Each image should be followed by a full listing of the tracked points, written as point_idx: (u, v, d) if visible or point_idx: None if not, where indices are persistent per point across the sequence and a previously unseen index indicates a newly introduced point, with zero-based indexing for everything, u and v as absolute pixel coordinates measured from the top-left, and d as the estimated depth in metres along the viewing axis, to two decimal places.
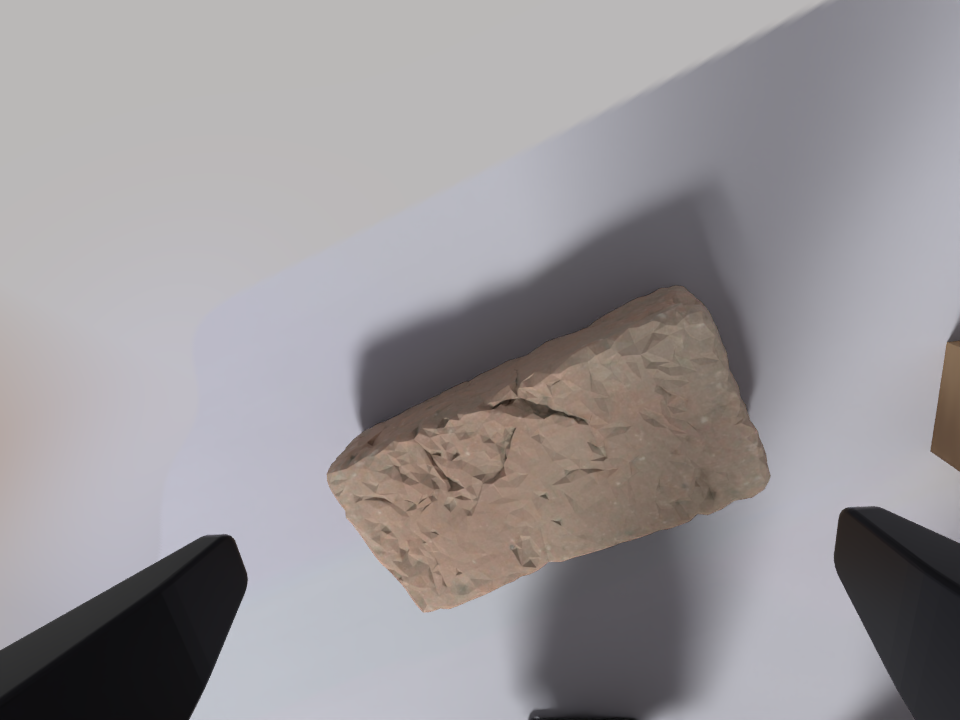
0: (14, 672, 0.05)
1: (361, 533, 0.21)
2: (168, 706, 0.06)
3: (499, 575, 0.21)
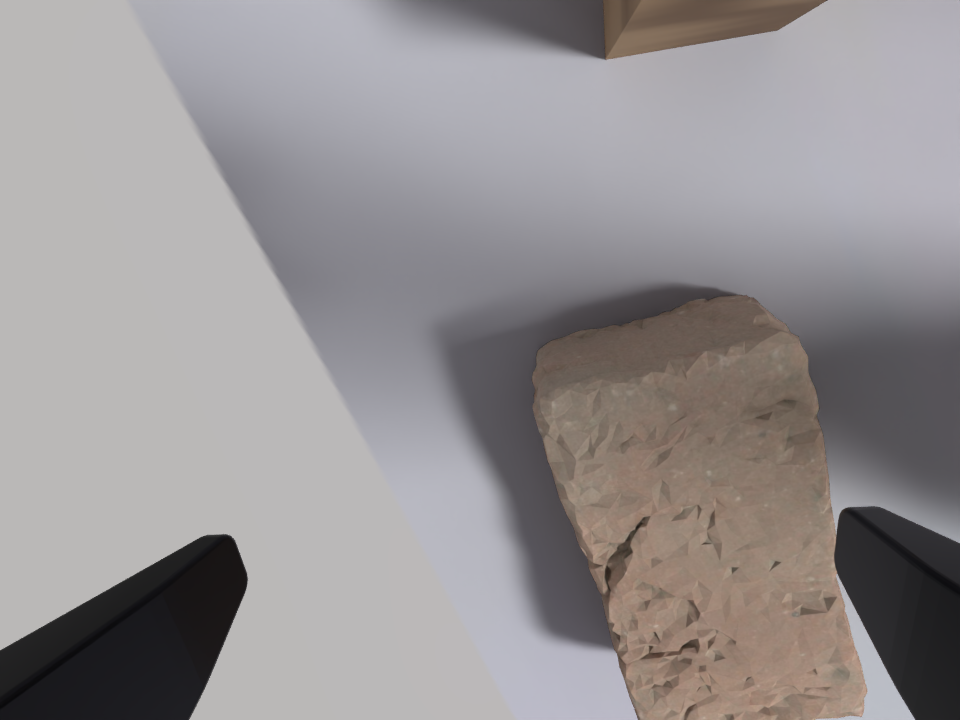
0: (14, 672, 0.05)
1: None
2: (168, 706, 0.06)
3: (833, 636, 0.17)
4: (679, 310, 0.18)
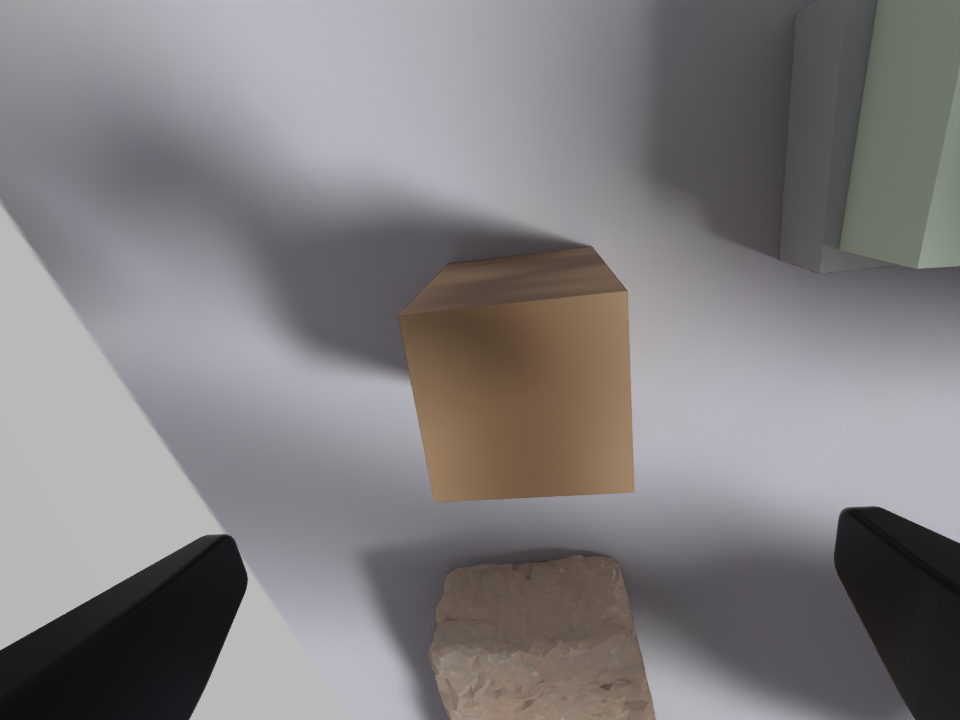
0: (14, 672, 0.05)
1: None
2: (168, 706, 0.06)
3: None
4: (562, 563, 0.21)
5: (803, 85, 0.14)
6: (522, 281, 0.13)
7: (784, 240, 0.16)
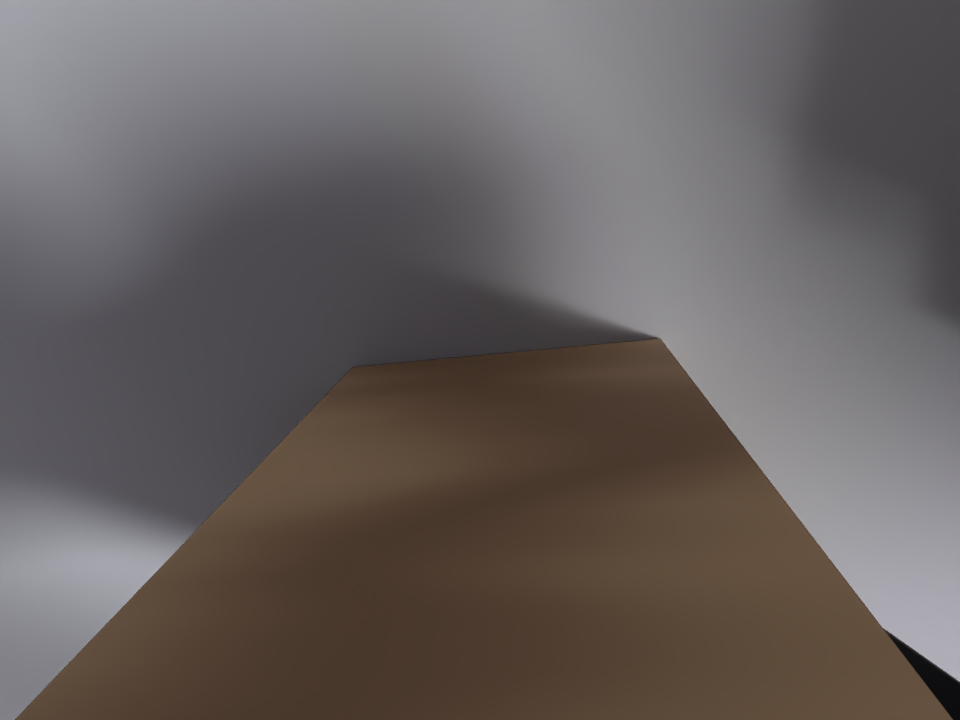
0: None
1: None
2: None
3: None
4: None
5: None
6: (487, 571, 0.04)
7: None
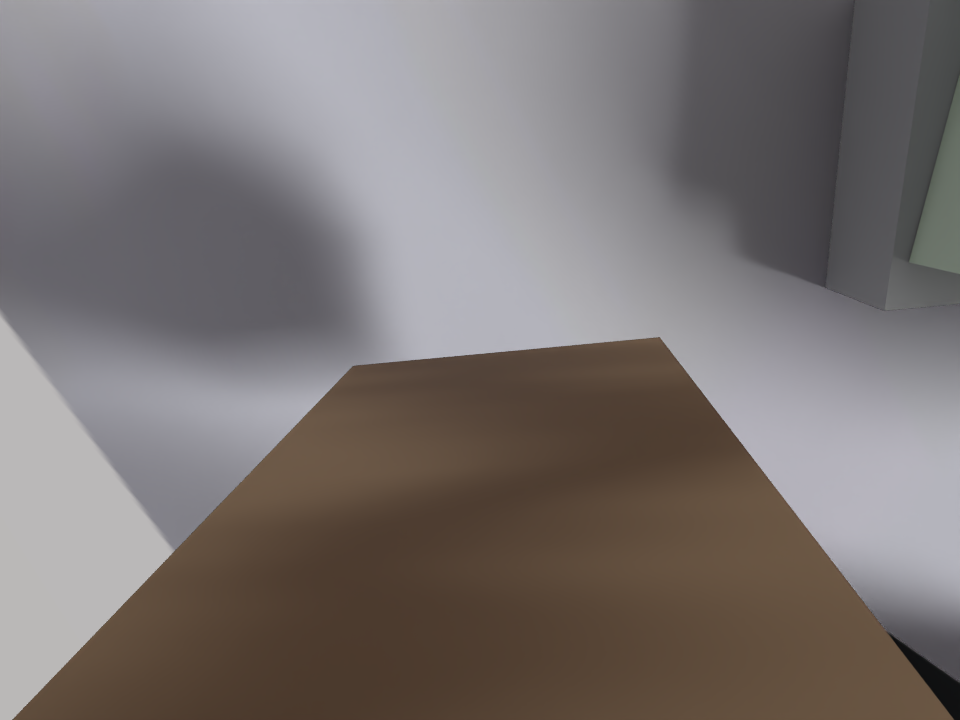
0: None
1: None
2: None
3: None
4: None
5: (865, 84, 0.12)
6: (487, 567, 0.04)
7: (834, 265, 0.14)
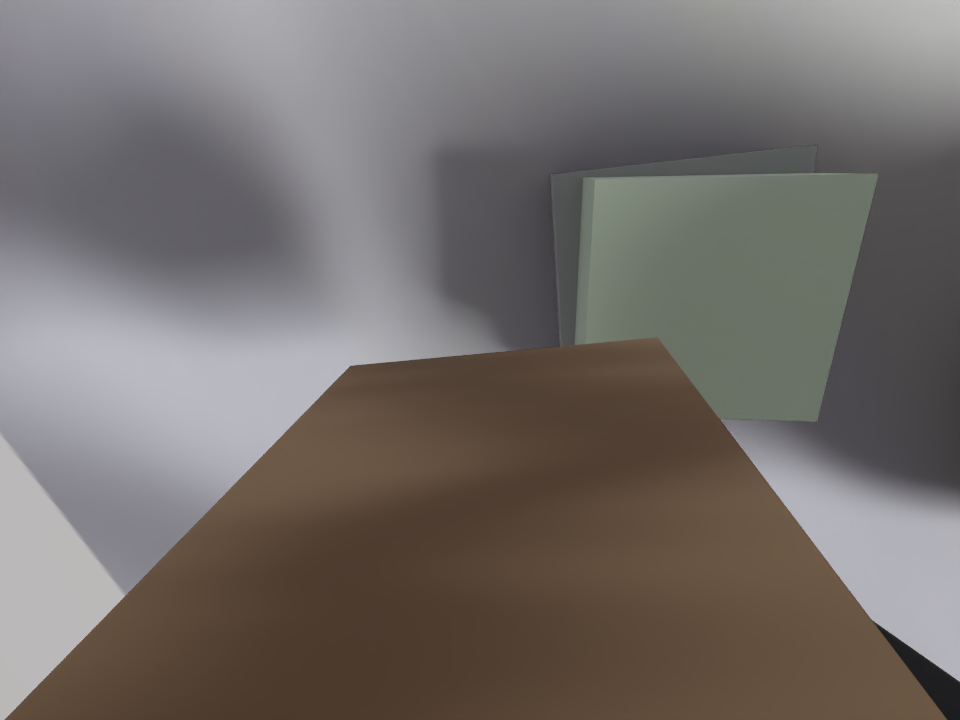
0: None
1: None
2: None
3: None
4: None
5: (554, 237, 0.16)
6: (482, 568, 0.04)
7: None
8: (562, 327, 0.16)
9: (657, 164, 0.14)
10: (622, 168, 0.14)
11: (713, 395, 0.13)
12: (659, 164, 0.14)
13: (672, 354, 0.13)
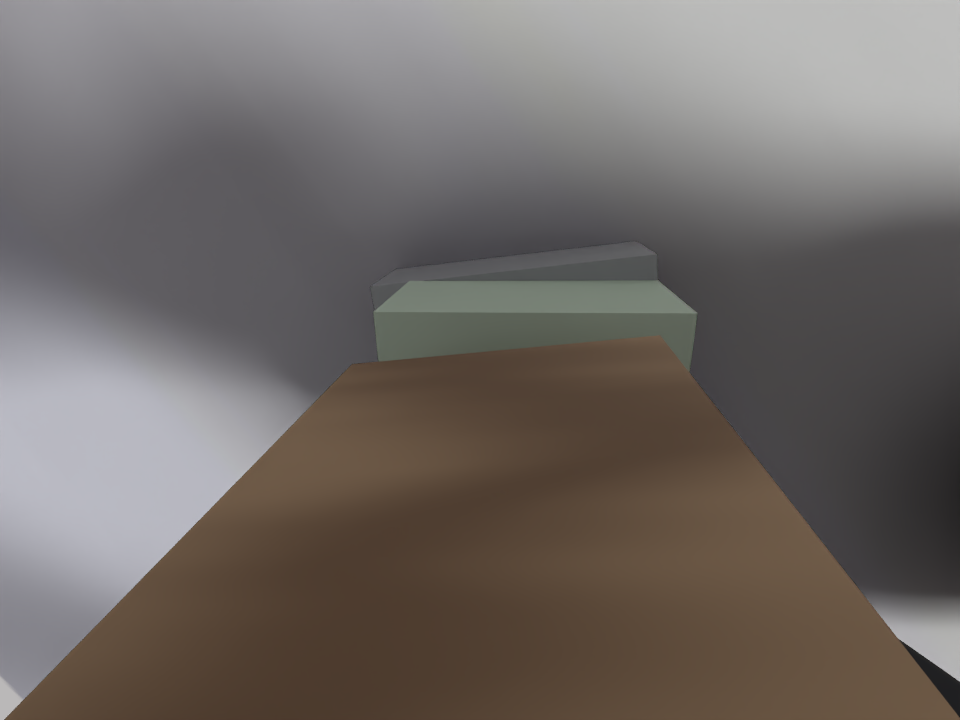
0: None
1: None
2: None
3: None
4: None
5: None
6: (486, 564, 0.04)
7: None
8: None
9: (482, 275, 0.12)
10: (445, 279, 0.12)
11: None
12: (484, 275, 0.12)
13: None
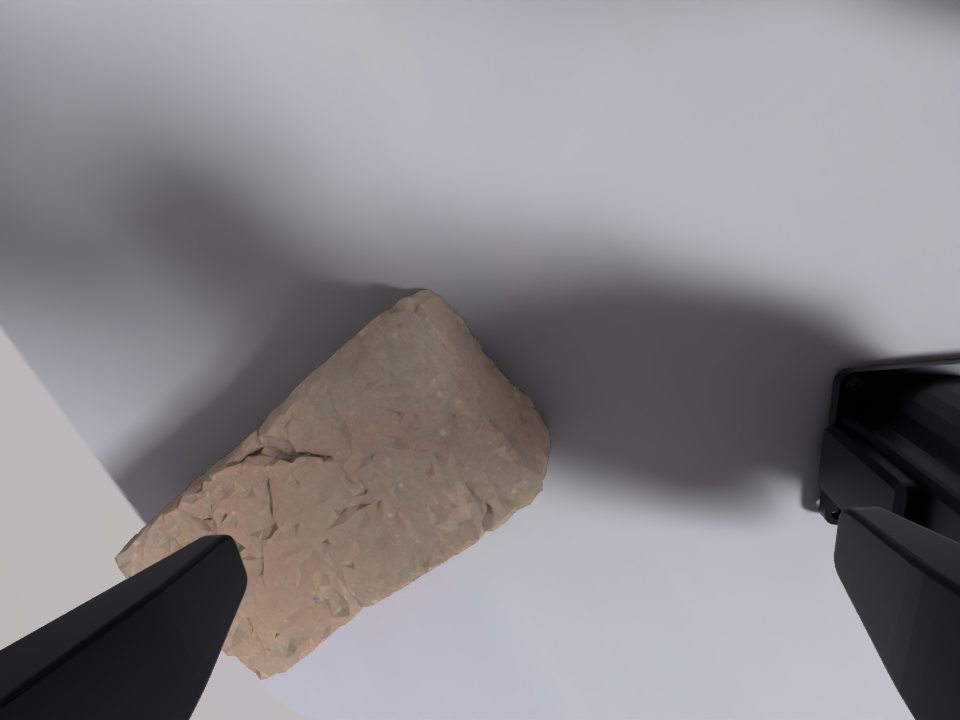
0: (14, 672, 0.05)
1: None
2: (168, 706, 0.06)
3: (315, 631, 0.20)
4: (516, 391, 0.19)
5: None
6: None
7: None
8: None
9: None
10: None
11: None
12: None
13: None
